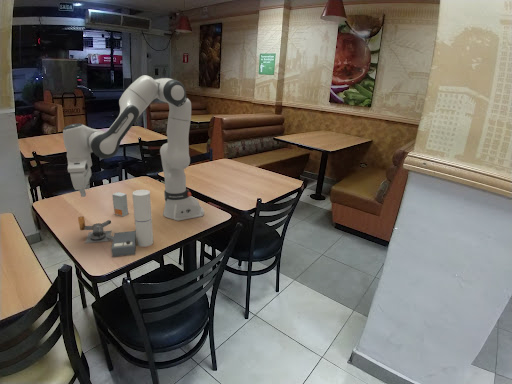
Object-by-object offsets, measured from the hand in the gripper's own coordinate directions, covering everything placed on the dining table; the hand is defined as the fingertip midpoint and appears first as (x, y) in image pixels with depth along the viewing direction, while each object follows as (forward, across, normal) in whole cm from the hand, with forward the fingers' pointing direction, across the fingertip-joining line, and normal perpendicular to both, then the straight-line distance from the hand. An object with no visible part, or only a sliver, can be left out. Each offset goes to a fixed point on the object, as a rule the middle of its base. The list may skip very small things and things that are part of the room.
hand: (85, 192), depth 135 cm
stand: (+22, +9, +8) cm, 25 cm away
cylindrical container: (+23, +12, +23) cm, 35 cm away
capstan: (+21, +2, +1) cm, 22 cm away
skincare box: (+23, -21, +11) cm, 33 cm away
